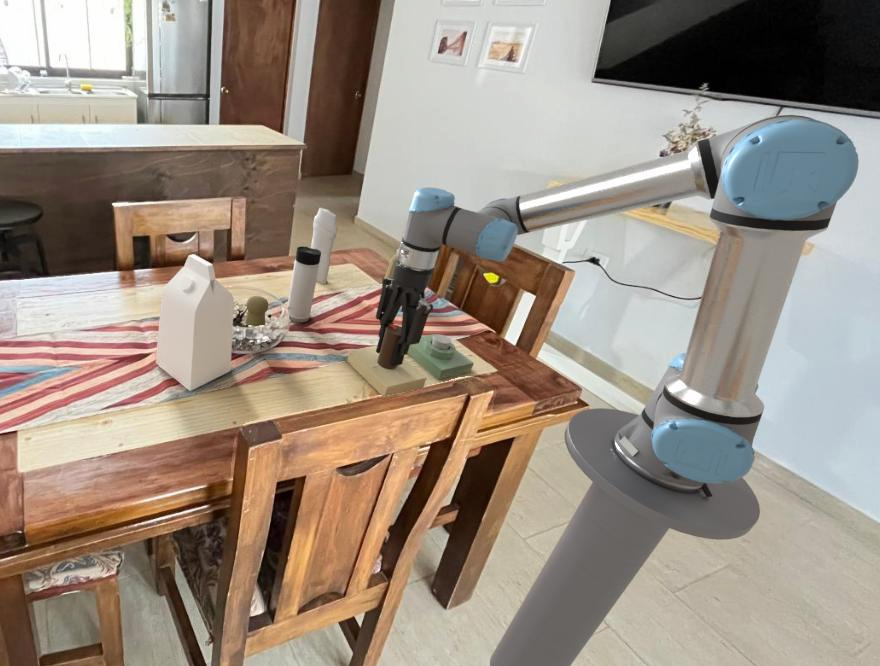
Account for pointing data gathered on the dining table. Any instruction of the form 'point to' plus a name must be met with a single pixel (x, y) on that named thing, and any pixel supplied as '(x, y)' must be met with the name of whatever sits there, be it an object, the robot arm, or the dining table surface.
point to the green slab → (440, 358)
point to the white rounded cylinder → (324, 240)
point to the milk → (195, 325)
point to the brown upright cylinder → (389, 346)
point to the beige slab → (385, 372)
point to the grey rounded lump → (441, 342)
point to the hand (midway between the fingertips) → (388, 357)
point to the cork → (256, 310)
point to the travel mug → (303, 283)
